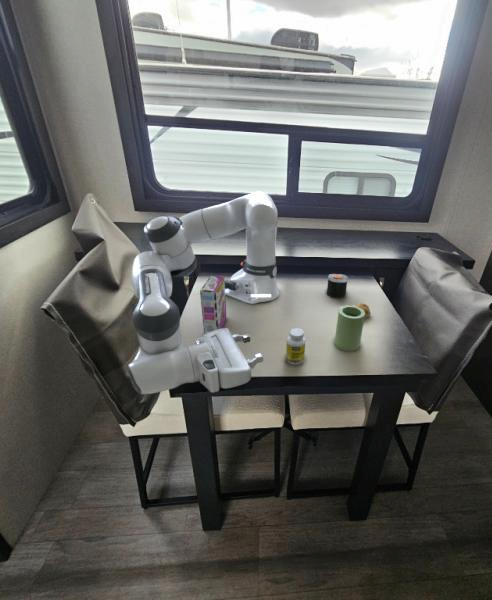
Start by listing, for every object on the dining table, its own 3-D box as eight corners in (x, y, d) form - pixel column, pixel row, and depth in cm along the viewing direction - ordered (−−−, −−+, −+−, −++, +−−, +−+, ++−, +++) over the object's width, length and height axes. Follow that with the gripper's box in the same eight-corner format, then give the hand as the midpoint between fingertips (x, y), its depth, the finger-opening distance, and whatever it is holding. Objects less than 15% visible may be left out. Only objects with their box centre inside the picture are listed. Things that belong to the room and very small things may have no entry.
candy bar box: (219, 337, 101) (215, 291, 93) (203, 336, 101) (198, 290, 93) (227, 318, 111) (224, 276, 103) (213, 317, 111) (209, 275, 103)
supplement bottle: (289, 366, 90) (291, 339, 86) (283, 355, 95) (284, 328, 90) (307, 362, 93) (309, 335, 88) (299, 351, 97) (301, 325, 92)
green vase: (332, 347, 100) (336, 314, 94) (338, 333, 106) (342, 303, 101) (356, 353, 98) (362, 320, 92) (361, 339, 104) (367, 308, 99)
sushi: (345, 298, 129) (348, 281, 125) (325, 296, 130) (327, 278, 126) (346, 290, 136) (348, 273, 132) (327, 288, 137) (329, 271, 133)
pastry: (354, 323, 113) (355, 314, 111) (341, 315, 117) (342, 306, 115) (371, 315, 118) (373, 307, 116) (358, 308, 123) (359, 299, 121)
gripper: (195, 347, 88) (243, 336, 94) (214, 397, 72) (270, 380, 78) (192, 328, 85) (242, 318, 91) (212, 377, 69) (270, 360, 75)
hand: (255, 347), depth 84 cm, fingers open, 8 cm apart
